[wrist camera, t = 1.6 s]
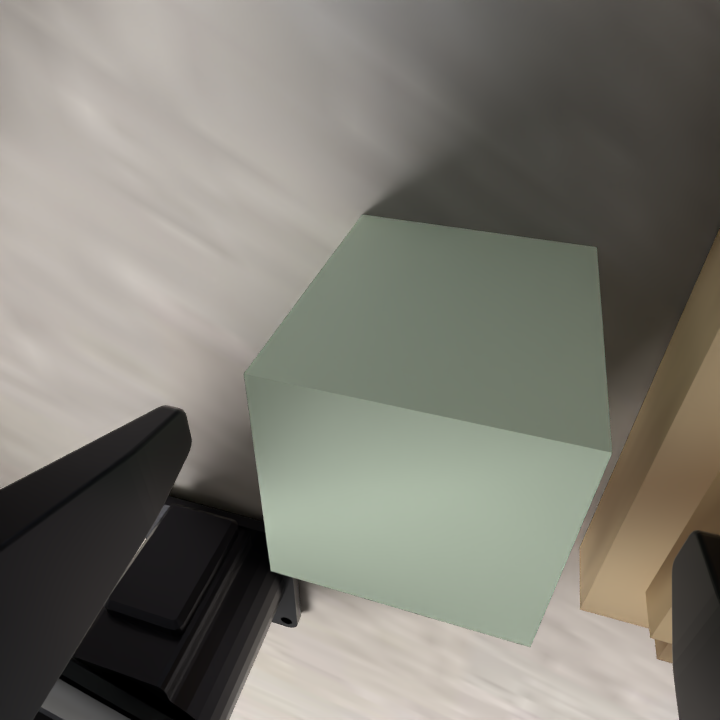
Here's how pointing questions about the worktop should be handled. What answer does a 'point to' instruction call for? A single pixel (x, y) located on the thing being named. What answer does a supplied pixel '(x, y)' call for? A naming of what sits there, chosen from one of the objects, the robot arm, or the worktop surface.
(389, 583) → the sage block
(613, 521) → the base slab
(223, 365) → the worktop surface
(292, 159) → the worktop surface
